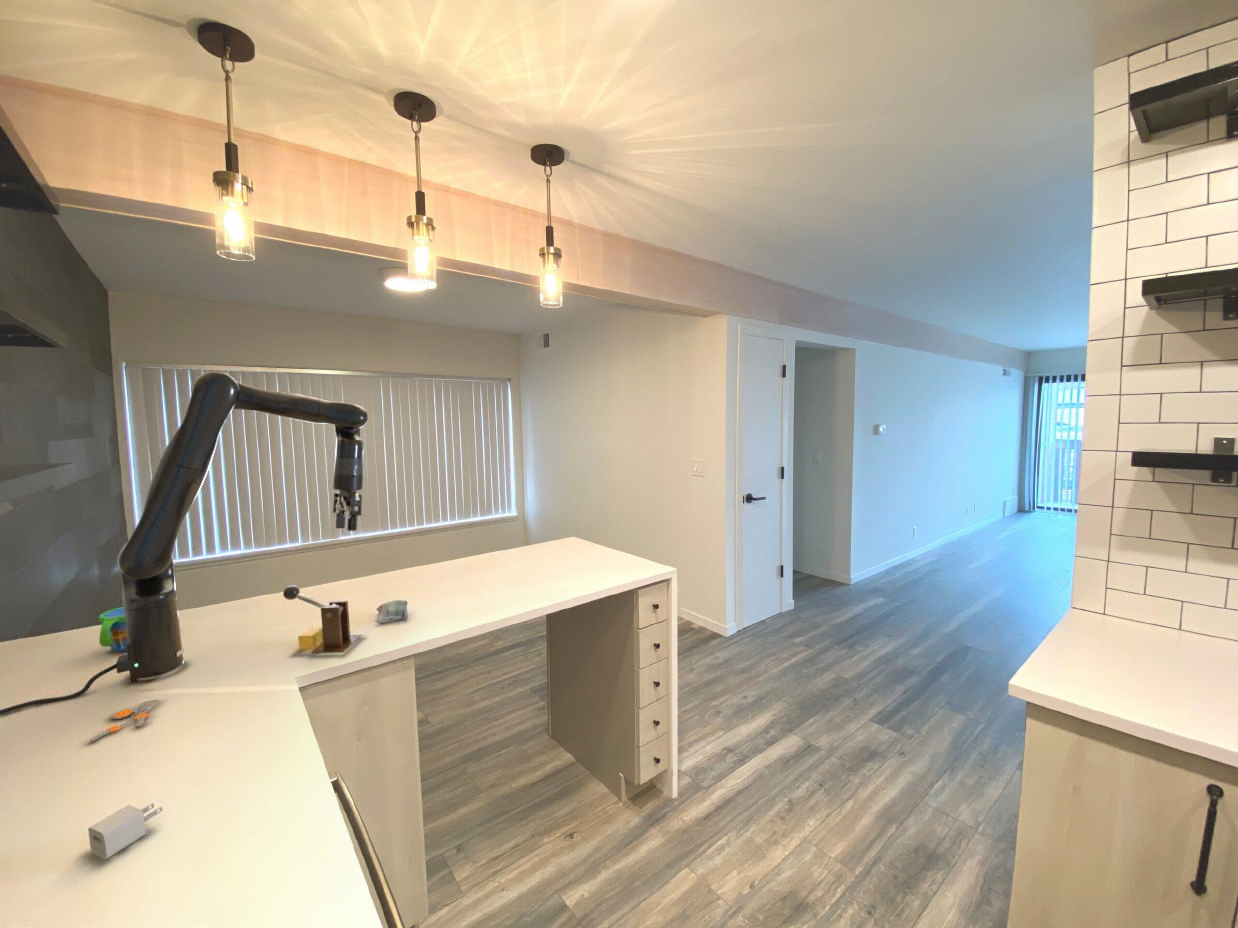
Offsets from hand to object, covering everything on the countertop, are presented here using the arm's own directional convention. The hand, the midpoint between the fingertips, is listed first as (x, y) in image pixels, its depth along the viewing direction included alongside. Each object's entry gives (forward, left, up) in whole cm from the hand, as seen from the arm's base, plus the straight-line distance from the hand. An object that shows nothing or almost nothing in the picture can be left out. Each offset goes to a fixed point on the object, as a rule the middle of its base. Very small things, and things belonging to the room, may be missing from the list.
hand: (345, 529), depth 146 cm
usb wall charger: (-41, -64, -29) cm, 81 cm away
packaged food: (+10, -5, -28) cm, 30 cm away
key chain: (-45, -24, -28) cm, 59 cm away
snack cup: (-49, +23, -28) cm, 62 cm away
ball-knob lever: (-12, -11, -17) cm, 23 cm away
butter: (-12, -11, -28) cm, 32 cm away
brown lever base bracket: (-6, -15, -28) cm, 33 cm away
